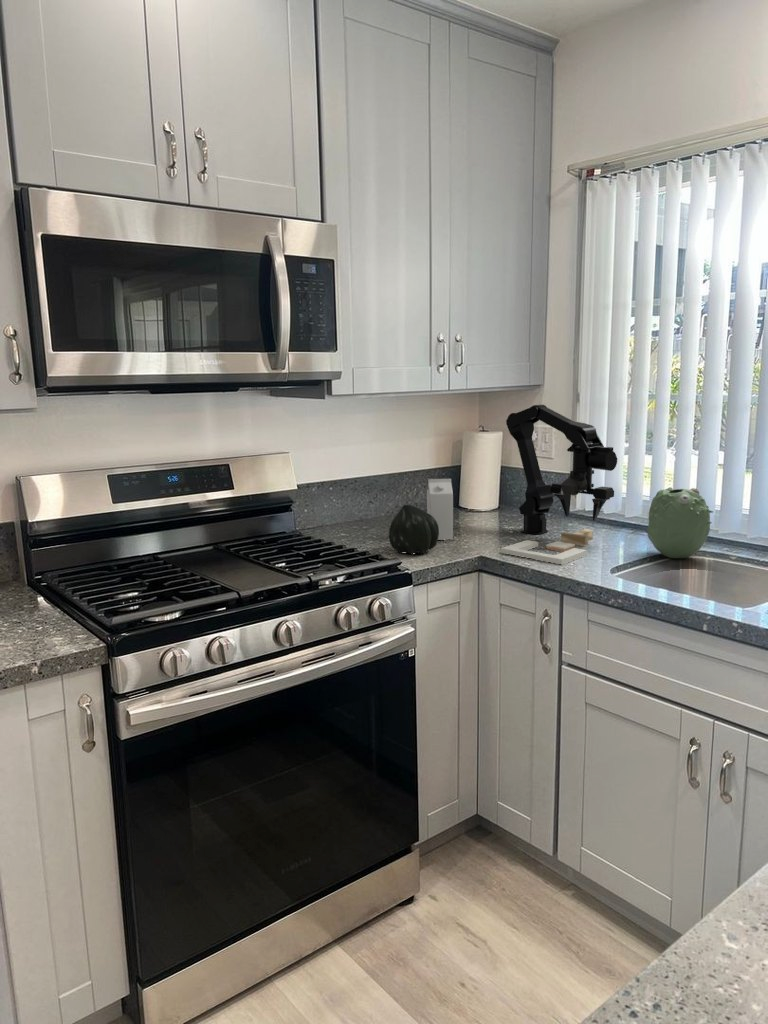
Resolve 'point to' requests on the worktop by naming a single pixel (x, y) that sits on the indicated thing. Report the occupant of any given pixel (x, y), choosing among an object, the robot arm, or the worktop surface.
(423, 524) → the squash
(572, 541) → the wooden pusher
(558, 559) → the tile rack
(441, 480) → the milk carton
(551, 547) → the pale beige block
